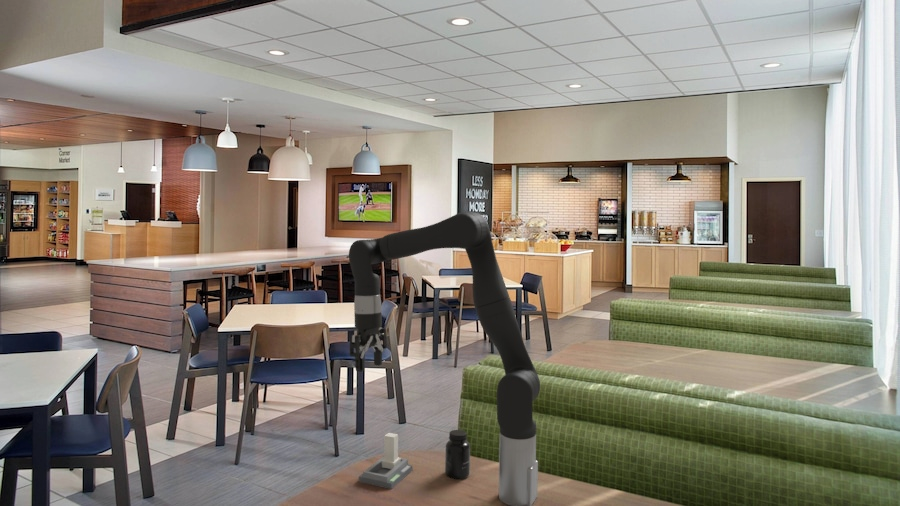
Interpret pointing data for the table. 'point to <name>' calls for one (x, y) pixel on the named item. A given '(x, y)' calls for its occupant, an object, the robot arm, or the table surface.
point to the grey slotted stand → (385, 474)
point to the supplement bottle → (457, 455)
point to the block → (390, 451)
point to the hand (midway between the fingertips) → (369, 368)
